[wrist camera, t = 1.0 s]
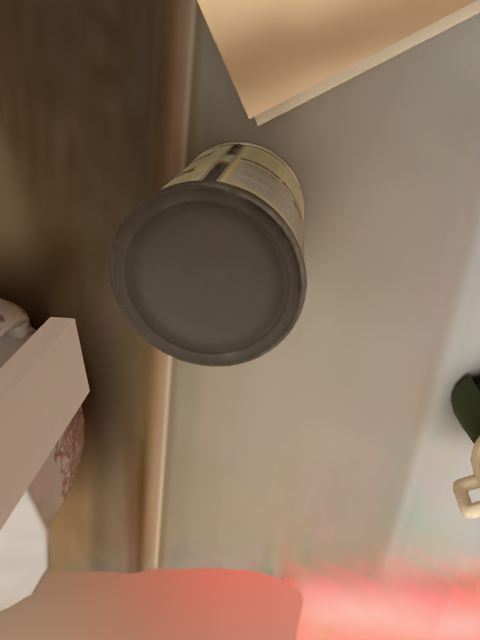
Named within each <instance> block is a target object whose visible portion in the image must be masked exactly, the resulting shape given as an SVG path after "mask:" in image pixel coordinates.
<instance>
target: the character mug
mask: <svg viewBox="0 0 480 640" xmlns="http://www.w3.org/2000/svg"><path fill="white" fill-rule="evenodd" d="M451 402H452V406H453V410H454V413H455V415H456V417H457V419H458V420H459V422H460V424H461V425H462V427H463V428H464V430H465V431H466V433H467V434H468V436H469V437H470V439H471V440H472V442H473V443H474V448H473V451H472V454H471V463H472V467H473V472H474V475H471V476H468V477H464V478H461V479H458V480H457V481H455V482H454V484H453V491H454V494H455V497H456V500H457V503H458V506H459V509H460V511H461V513H462V515H463V516H464V517H465V518H477V517H480V501H478V502H475V503H472V502H471V499H470V497H469V494H468V491H470V490H473V489H477V488H480V383H478V384H477V385H476V384H475V383H474V381H473V379H472V378H471V376H469V377H466V378H465V379H464V380H463V381H462V382H461V383H460V384H459V385H458V386H457V387H456V388H455V391H454V394H453V396H452V399H451Z"/></svg>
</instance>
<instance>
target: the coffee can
mask: <svg viewBox="0 0 480 640" xmlns="http://www.w3.org/2000/svg"><path fill="white" fill-rule="evenodd" d="M304 216H305V202H304V195H303V191H302V189H301V186H300V183H299V181H298V179H297V177H296V175H295V174H294V172H293V170H292V169H291V168H290V167H289V166H288V164H287V163H286V162H285V161H284V160H283V159H281V158H280V157H279V156H278V155H276V154H275V153H274V152H273V151H271V150H268V149H266V148H264V147H262V146H259V145H256V144H252V143H247V142H229V143H223V144H220V145H217V146H214V147H212V148H210V149H208V150H206V151H205V152H203V153H202V154H200V155H199V156H198V157H196V158H195V159H194V160H193V161H192V163H191V164H190V165H189V166H188V167H186V168H185V169H184V170H183V171H182V172H181V173H179V174H178V175H177V176H176V177H175V178H174V179H172V180H171V181H170V182H169V183H168V184H166V185H165V186H164V187H163V188H162V189H161V190H159V191H157V192H155V193H154V194H152V195H150V196H148V197H147V198H145V199H144V200H143V201H141V202H140V203H139V204H137V205H136V206H135V207H134V208H133V209H132V210H131V211H130V213H129V214H128V215H127V216H126V217H125V219H124V220H123V222H122V223H121V225H120V227H119V229H118V231H117V233H116V236H115V238H114V241H113V245H112V249H111V254H110V264H109V269H110V280H111V285H112V288H113V292H114V295H115V298H116V300H117V303H118V305H119V307H120V309H121V310H122V312H123V314H124V316H125V317H126V319H127V320H128V322H129V323H130V324H131V326H132V327H133V328H134V329H135V330H136V331H137V332H138V333H139V335H140V336H142V337H143V338H144V339H145V340H146V341H147V342H149V343H150V344H151V345H153V346H154V347H156V348H157V349H159V350H161V351H162V352H164V353H166V354H167V355H170V356H173V357H174V358H177V359H179V360H182V361H185V362H189V363H193V364H197V365H203V366H231V365H236V364H241V363H244V362H248V361H251V360H253V359H256V358H258V357H260V356H262V355H264V354H266V353H267V352H269V351H270V350H272V349H273V348H274V347H276V346H277V345H278V344H279V343H280V342H281V341H282V340H283V339H284V338H285V337H286V336H287V335H288V334H289V333H290V331H291V330H292V328H293V327H294V325H295V323H296V322H297V320H298V318H299V316H300V313H301V311H302V308H303V304H304V301H305V295H306V286H307V279H306V269H305V263H304Z"/></svg>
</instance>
